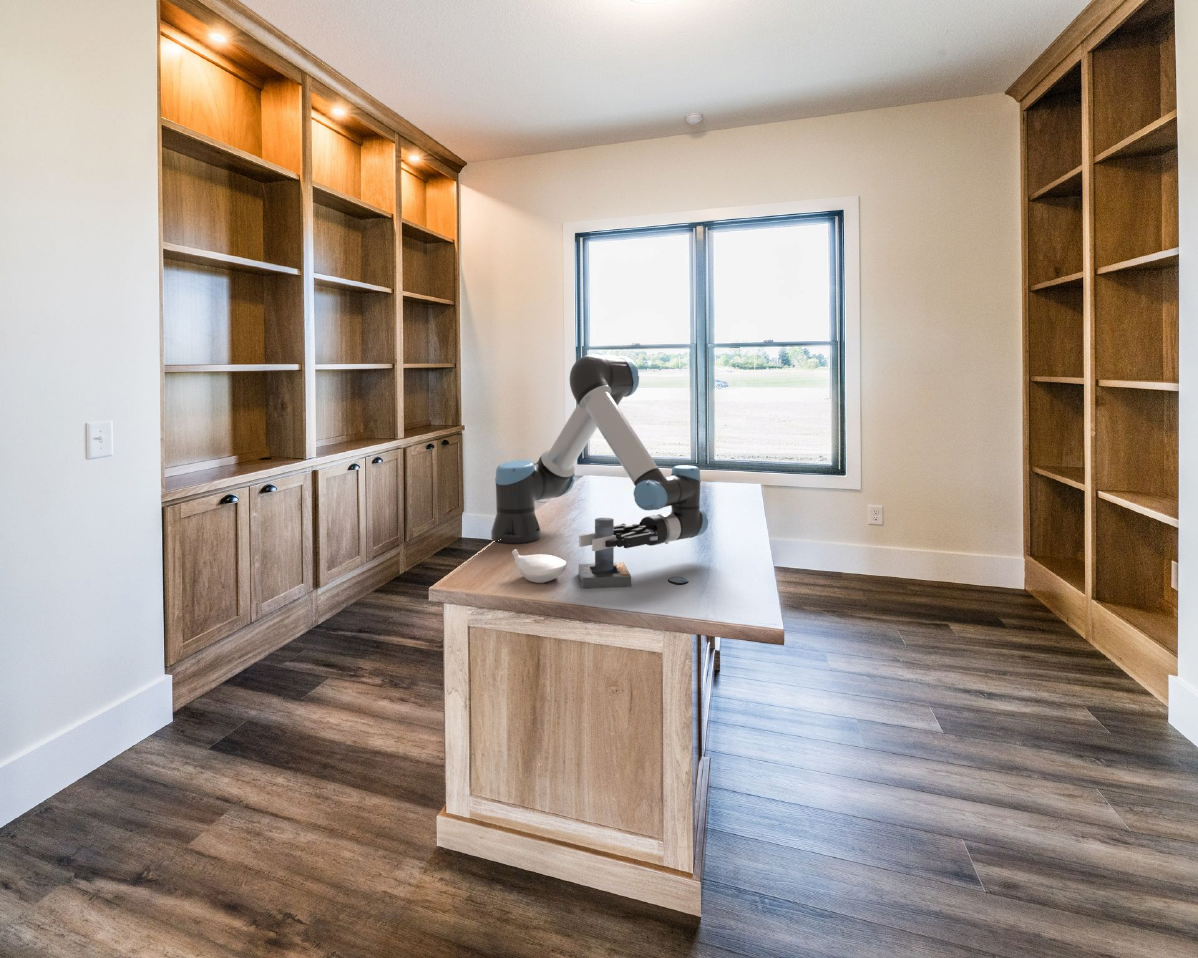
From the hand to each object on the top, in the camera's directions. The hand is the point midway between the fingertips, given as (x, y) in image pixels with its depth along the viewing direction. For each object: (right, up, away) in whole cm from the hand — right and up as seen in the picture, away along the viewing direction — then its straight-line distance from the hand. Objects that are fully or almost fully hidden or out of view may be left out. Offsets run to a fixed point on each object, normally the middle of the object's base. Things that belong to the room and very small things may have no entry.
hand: (586, 543), depth 153 cm
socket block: (+4, -9, +5) cm, 11 cm away
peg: (+4, -6, +4) cm, 9 cm away
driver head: (-12, -10, +4) cm, 16 cm away
